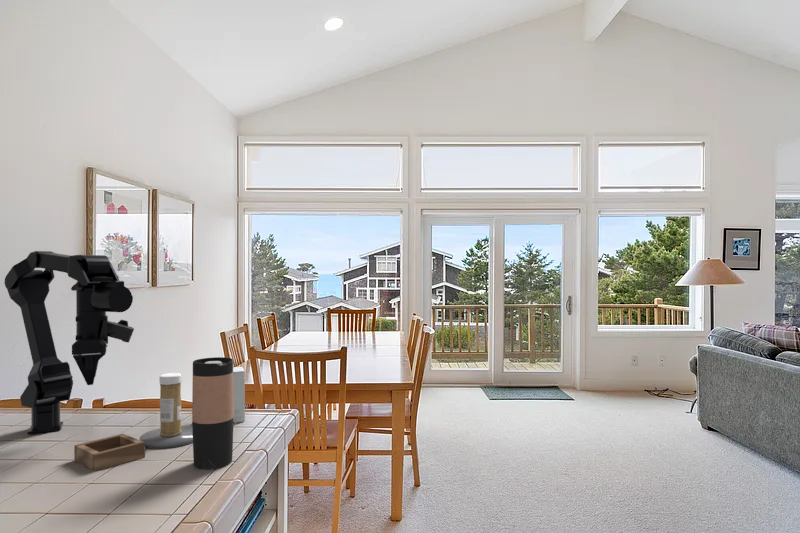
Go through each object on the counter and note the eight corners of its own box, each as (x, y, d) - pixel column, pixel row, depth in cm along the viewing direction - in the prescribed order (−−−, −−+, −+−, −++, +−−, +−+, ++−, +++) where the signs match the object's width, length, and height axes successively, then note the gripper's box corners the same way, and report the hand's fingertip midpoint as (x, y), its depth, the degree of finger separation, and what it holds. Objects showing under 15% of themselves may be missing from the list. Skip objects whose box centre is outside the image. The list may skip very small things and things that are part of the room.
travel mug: (198, 456, 108) (198, 357, 108) (237, 455, 109) (237, 356, 109) (186, 470, 100) (186, 364, 101) (228, 469, 101) (228, 363, 101)
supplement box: (245, 422, 133) (245, 371, 133) (213, 425, 130) (213, 373, 130) (243, 414, 140) (242, 366, 140) (212, 417, 137) (212, 368, 137)
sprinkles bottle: (186, 433, 120) (186, 373, 120) (168, 438, 116) (168, 376, 116) (172, 430, 123) (173, 371, 123) (154, 435, 119) (155, 374, 119)
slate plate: (138, 435, 122) (138, 430, 122) (199, 427, 128) (199, 423, 128) (140, 452, 111) (140, 447, 111) (206, 442, 117) (206, 438, 117)
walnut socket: (74, 460, 106) (74, 445, 106) (122, 447, 114) (122, 433, 114) (95, 471, 100) (95, 455, 100) (144, 457, 108) (144, 442, 108)
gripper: (132, 312, 115) (132, 385, 115) (131, 307, 132) (131, 370, 131) (71, 314, 110) (71, 390, 110) (78, 309, 126) (78, 375, 126)
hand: (91, 380), depth 120 cm, fingers open, 9 cm apart
